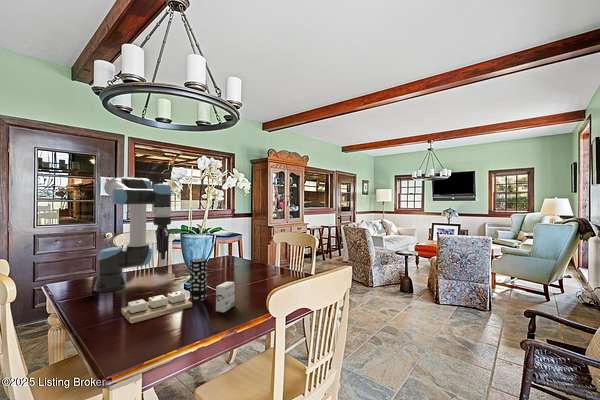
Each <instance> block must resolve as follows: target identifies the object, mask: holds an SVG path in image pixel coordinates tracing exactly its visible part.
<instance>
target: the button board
mask: <svg viewBox="0 0 600 400" xmlns="http://www.w3.org/2000/svg"><path fill="white" fill-rule="evenodd" d="M166 298H167V305H163V306H159V307H155V308H152V307H151V306H150V305H149V301H146V302H147V310H143V311H139V312H135V313H131V312H130V311H129V310H128V306H125V307H121V308H120V313H121V314H122V316H124V317H125V319H126V320H127V322H129V323H131V324H135V323H139V322H142V321H145V320H150V319H153V318H157V317H160V316H163V315H168V314H171V313H176V312H178V311H182V310H186V309H190V308H193V301H191V300H190V299H187V298H185V300H183V301H179V302H175V303H171V302H170V301H168V296H167V297H166Z"/></svg>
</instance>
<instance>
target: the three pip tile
mask: <svg viewBox="0 0 600 400" xmlns="http://www.w3.org/2000/svg"><path fill="white" fill-rule="evenodd" d="M167 297H168V301H170V302H171V304H176V303H180V302H181V301H183V300H185V299H186V294H185V293H184V292H183V291H181V290H178V291H173V292H168V293H167Z"/></svg>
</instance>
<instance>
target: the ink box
mask: <svg viewBox="0 0 600 400" xmlns="http://www.w3.org/2000/svg"><path fill="white" fill-rule="evenodd" d="M235 285H236V284H235V282H234V281H225V282H223V283H221V284H218V285H216V286H215V312H219V313H225V312H227V311H228V310H230V309H232V308H234V307H235V305H236V304H235V301H236V300H235V298H236V297H235V295H236V294H235V287H236V286H235Z"/></svg>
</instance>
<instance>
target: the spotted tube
mask: <svg viewBox="0 0 600 400" xmlns="http://www.w3.org/2000/svg"><path fill="white" fill-rule="evenodd" d="M189 262H190V264H189V267H190V268H189V272H190V273H189V301H190V302H201V301H204V300H207V298H208V259H207V258H194V259H190V261H189Z"/></svg>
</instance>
